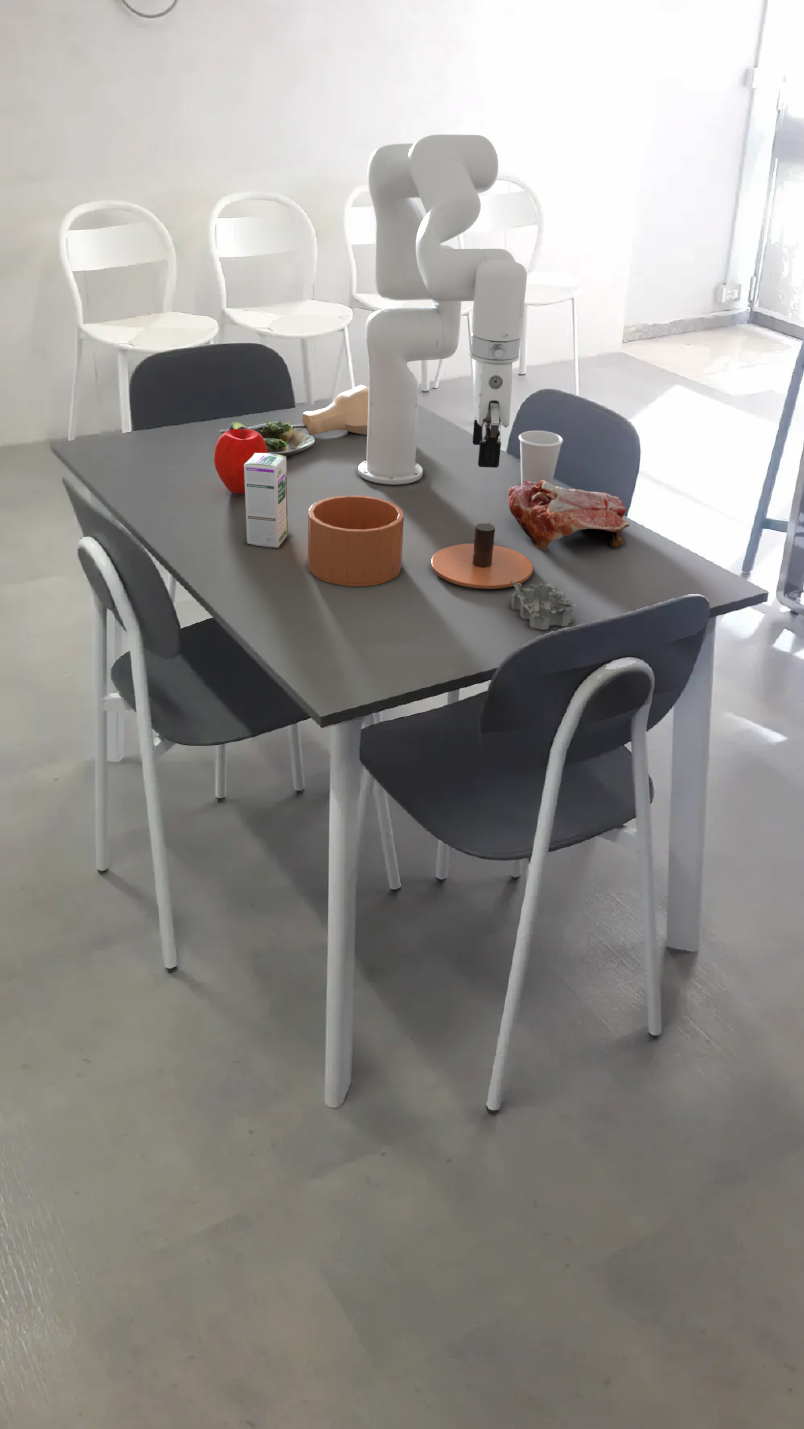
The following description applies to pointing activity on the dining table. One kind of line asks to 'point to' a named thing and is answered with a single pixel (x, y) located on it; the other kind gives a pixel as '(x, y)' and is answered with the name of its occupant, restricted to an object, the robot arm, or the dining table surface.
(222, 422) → the dining table surface
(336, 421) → the squash
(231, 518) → the dining table surface
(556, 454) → the dixie cup
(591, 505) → the meat
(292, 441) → the salad plate
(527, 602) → the egg carton
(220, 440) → the apple
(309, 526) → the pot
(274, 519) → the syrup box
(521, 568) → the lid
